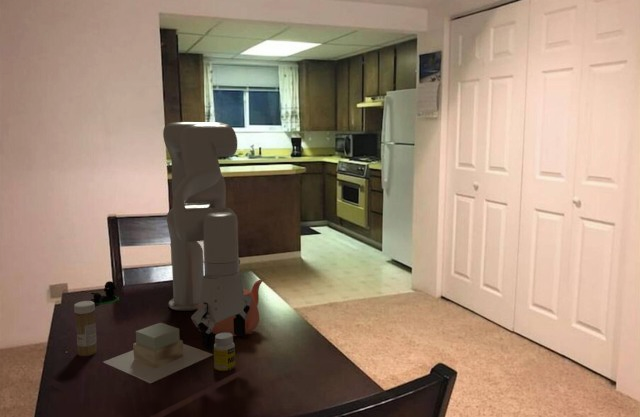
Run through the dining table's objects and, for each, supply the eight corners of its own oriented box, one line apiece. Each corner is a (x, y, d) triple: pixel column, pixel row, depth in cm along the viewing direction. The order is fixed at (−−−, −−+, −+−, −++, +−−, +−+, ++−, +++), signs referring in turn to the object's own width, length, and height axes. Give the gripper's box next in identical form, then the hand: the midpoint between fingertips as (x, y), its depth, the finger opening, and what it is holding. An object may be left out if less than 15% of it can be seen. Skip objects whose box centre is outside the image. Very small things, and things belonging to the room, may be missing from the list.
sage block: (161, 334, 129) (160, 322, 129) (179, 340, 125) (179, 328, 125) (136, 343, 123) (135, 331, 123) (154, 350, 119) (154, 338, 119)
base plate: (166, 341, 137) (165, 337, 137) (213, 358, 127) (213, 354, 127) (102, 366, 123) (102, 361, 123) (150, 387, 113) (150, 383, 112)
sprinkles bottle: (74, 356, 128) (70, 303, 126) (92, 350, 132) (88, 298, 130) (83, 361, 125) (79, 307, 123) (101, 355, 129) (98, 302, 127)
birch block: (162, 348, 130) (161, 333, 130) (183, 356, 126) (182, 340, 125) (134, 359, 124) (133, 343, 123) (155, 368, 119) (154, 351, 119)
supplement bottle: (230, 376, 118) (229, 340, 116) (211, 374, 119) (209, 338, 117) (238, 367, 122) (237, 332, 121) (219, 365, 123) (218, 331, 122)
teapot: (204, 323, 150) (203, 277, 148) (263, 321, 152) (263, 275, 150) (197, 345, 134) (195, 295, 133) (263, 343, 136) (262, 293, 134)
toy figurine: (80, 303, 168) (79, 286, 168) (103, 294, 178) (102, 278, 177) (105, 307, 165) (104, 289, 164) (127, 297, 174) (126, 281, 173)
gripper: (237, 258, 126) (239, 327, 128) (179, 273, 112) (183, 350, 114) (260, 262, 122) (262, 333, 124) (203, 279, 108) (206, 358, 110)
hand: (224, 341), depth 119 cm, fingers open, 9 cm apart
